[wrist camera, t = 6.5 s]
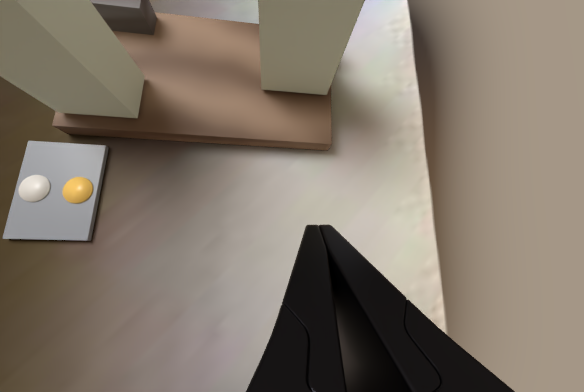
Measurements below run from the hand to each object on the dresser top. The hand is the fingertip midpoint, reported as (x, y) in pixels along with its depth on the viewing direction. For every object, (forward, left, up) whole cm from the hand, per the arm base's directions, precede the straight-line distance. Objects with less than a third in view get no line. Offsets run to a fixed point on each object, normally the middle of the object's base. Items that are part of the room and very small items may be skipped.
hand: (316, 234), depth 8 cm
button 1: (+15, 0, -11) cm, 19 cm away
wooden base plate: (+15, +8, -13) cm, 21 cm away
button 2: (+11, +16, -11) cm, 22 cm away
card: (+4, +19, -13) cm, 23 cm away
